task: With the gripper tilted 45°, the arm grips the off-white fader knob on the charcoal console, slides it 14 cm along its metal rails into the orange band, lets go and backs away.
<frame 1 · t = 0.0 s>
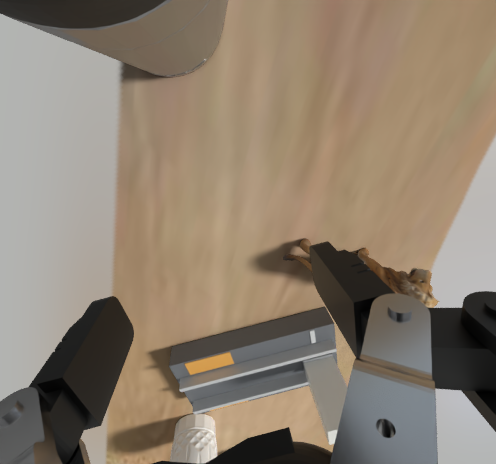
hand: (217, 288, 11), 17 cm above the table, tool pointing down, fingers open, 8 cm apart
white cup: (195, 422, 46), on the table
fader knob: (329, 392, 32), point 8 cm above the table, slide at 0.0 cm
lion figurine: (342, 253, 33), on the table
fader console: (257, 353, 39), on the table
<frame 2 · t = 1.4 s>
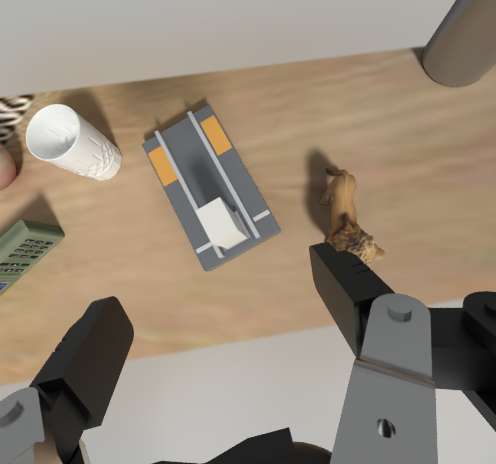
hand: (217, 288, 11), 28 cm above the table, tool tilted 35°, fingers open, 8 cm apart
white cup: (104, 162, 44), on the table
handheld radio: (9, 280, 44), on the table
fader knob: (225, 226, 31), point 8 cm above the table, slide at 0.0 cm
decorative fruit: (13, 175, 46), on the table
lion figurine: (339, 220, 38), on the table
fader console: (212, 190, 40), on the table
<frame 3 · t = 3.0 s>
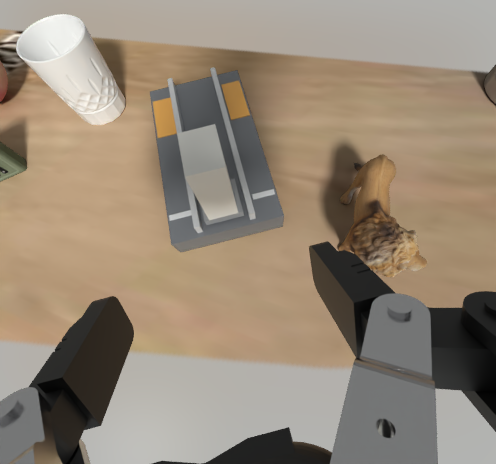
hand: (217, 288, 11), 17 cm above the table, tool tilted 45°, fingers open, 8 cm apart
white cup: (104, 108, 38), on the table
fader knob: (212, 181, 23), point 8 cm above the table, slide at 0.0 cm
decorative fruit: (3, 100, 41), on the table
lion figurine: (361, 226, 29), on the table
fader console: (213, 161, 33), on the table
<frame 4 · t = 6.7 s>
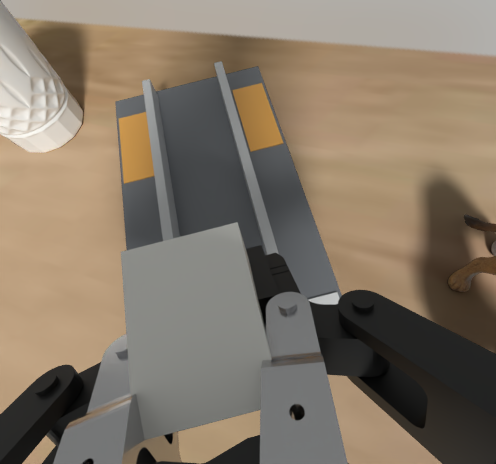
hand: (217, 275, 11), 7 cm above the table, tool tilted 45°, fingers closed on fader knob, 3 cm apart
white cup: (52, 126, 25), on the table
fader knob: (224, 322, 10), point 8 cm above the table, slide at 0.0 cm, touching gripper
lion figurine: (494, 335, 16), on the table
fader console: (220, 217, 20), on the table
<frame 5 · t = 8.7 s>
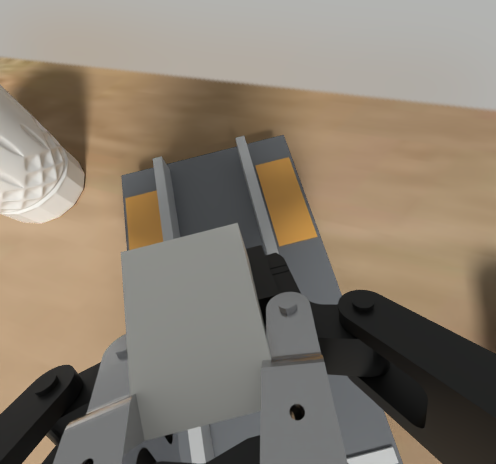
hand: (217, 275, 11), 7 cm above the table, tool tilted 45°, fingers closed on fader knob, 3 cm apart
white cup: (50, 189, 23), on the table
fader knob: (224, 322, 10), point 8 cm above the table, slide at 7.3 cm, touching gripper
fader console: (241, 312, 18), on the table
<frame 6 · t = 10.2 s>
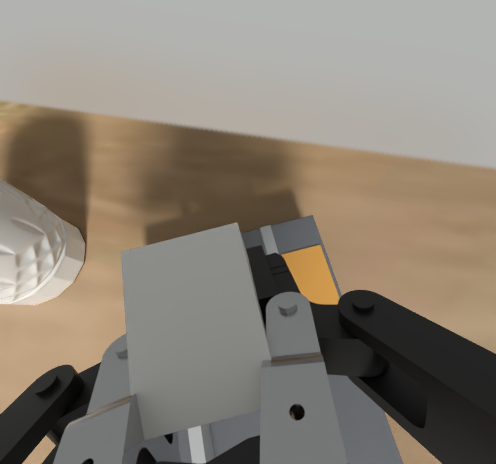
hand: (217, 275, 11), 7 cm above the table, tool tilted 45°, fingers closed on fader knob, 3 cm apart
white cup: (46, 260, 20), on the table
fader knob: (224, 322, 10), point 8 cm above the table, slide at 13.8 cm, touching gripper
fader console: (266, 425, 15), on the table
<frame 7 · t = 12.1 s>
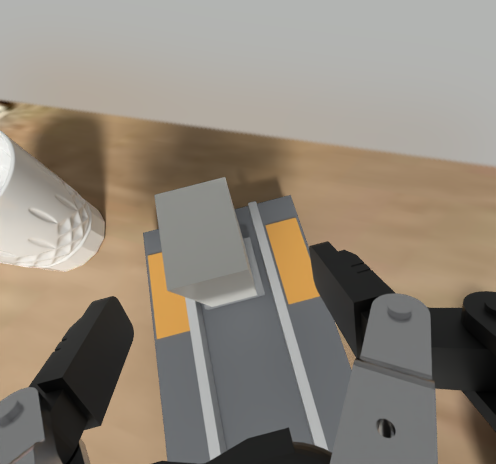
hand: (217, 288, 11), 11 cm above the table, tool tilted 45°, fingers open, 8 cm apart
white cup: (72, 237, 24), on the table
fader knob: (219, 258, 14), point 8 cm above the table, slide at 14.0 cm
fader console: (253, 359, 19), on the table
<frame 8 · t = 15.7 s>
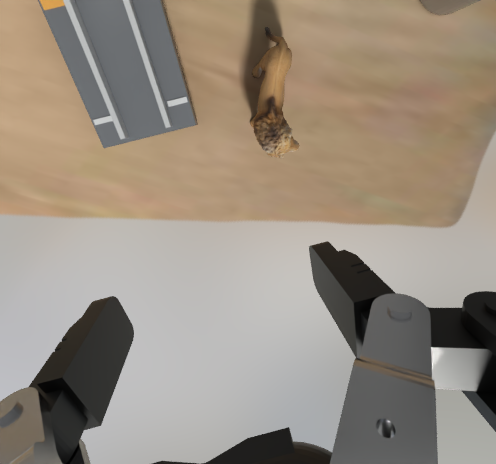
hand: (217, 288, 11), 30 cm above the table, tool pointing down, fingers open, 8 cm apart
lion figurine: (268, 99, 35), on the table
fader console: (121, 39, 31), on the table
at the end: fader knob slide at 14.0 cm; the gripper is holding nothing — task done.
